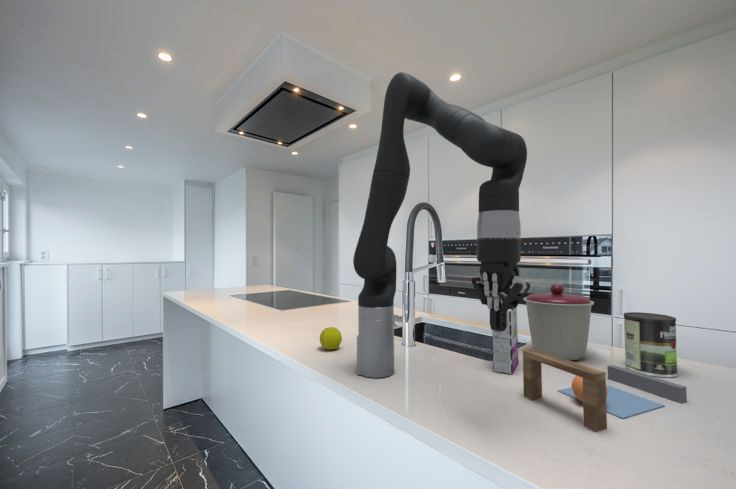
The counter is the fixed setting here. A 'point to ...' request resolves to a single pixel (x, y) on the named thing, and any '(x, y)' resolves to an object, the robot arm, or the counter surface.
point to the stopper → (648, 383)
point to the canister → (559, 322)
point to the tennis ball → (330, 338)
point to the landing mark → (622, 402)
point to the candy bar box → (506, 345)
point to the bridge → (591, 377)
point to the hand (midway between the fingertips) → (497, 330)
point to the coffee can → (650, 344)
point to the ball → (579, 387)
